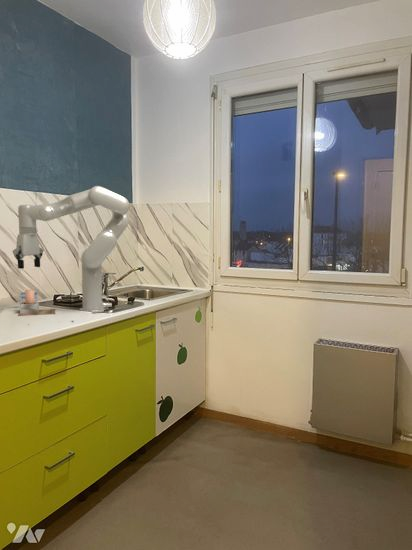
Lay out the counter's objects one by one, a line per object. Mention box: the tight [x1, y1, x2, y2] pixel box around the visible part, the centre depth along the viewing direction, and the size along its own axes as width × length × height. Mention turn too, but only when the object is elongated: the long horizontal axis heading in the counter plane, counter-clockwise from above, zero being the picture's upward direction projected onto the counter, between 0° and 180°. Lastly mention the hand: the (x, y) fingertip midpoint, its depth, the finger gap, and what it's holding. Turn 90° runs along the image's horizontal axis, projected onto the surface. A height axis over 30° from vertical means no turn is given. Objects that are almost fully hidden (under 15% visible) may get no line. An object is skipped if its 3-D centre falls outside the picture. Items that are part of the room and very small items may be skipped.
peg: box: [24, 289, 35, 304], centre depth 196 cm, size 4×4×10 cm
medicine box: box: [19, 291, 38, 303], centre depth 210 cm, size 8×4×9 cm, turn 112°
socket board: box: [17, 301, 56, 317], centre depth 195 cm, size 16×14×5 cm
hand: (29, 267), depth 195 cm, fingers open, 9 cm apart
